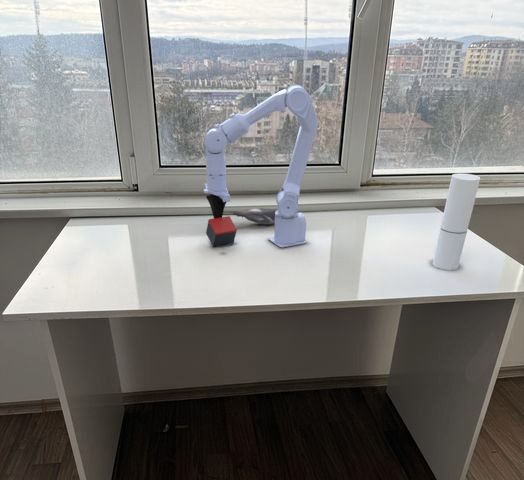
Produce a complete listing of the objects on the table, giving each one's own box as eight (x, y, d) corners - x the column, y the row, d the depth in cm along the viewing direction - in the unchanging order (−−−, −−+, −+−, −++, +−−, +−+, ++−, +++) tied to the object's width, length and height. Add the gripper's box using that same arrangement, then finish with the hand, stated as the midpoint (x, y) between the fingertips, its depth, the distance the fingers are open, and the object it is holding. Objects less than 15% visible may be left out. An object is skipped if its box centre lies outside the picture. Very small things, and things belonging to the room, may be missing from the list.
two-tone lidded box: (226, 229, 158) (229, 216, 153) (233, 243, 155) (237, 230, 150) (205, 233, 155) (208, 219, 150) (212, 247, 152) (215, 233, 147)
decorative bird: (291, 226, 170) (292, 211, 167) (219, 228, 167) (218, 214, 164) (287, 220, 175) (288, 206, 173) (217, 222, 172) (217, 208, 169)
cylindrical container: (458, 262, 146) (480, 175, 132) (458, 271, 140) (480, 181, 127) (433, 258, 148) (452, 172, 134) (431, 267, 142) (451, 178, 128)
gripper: (194, 169, 149) (197, 214, 156) (213, 180, 138) (215, 228, 146) (216, 167, 152) (217, 211, 159) (236, 178, 141) (236, 224, 148)
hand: (217, 219), depth 153 cm, fingers closed
